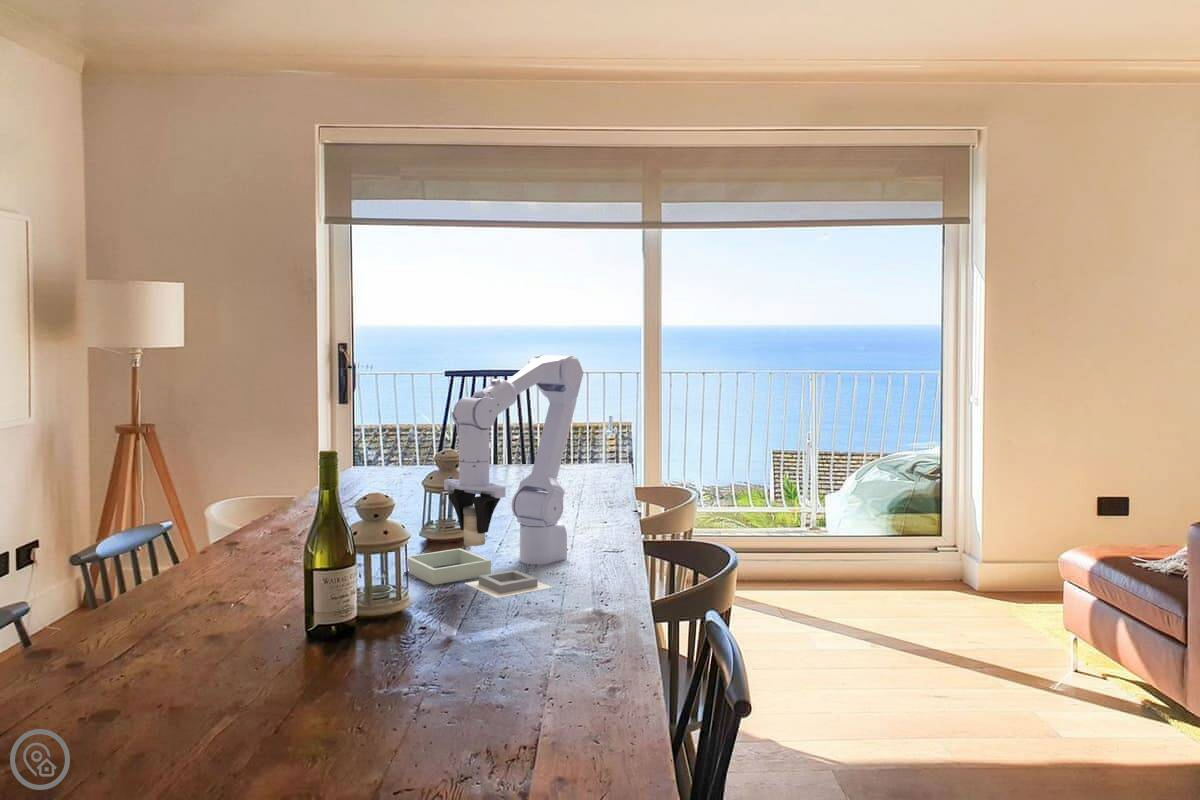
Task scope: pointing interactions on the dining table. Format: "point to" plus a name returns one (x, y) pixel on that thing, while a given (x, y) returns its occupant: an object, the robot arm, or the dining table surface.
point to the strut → (471, 528)
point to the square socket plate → (507, 583)
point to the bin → (467, 569)
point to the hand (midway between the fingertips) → (474, 530)
